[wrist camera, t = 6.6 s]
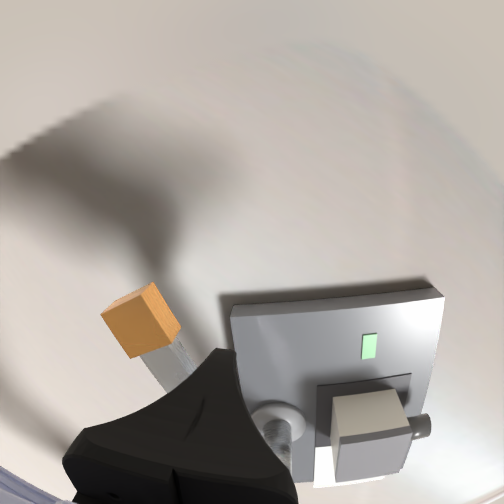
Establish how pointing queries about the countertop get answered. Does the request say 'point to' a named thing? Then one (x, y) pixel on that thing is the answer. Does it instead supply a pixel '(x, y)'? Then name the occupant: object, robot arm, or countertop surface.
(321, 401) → the grey flat board
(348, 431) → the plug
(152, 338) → the orange-tipped grey rod
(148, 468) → the robot arm
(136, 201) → the countertop surface
